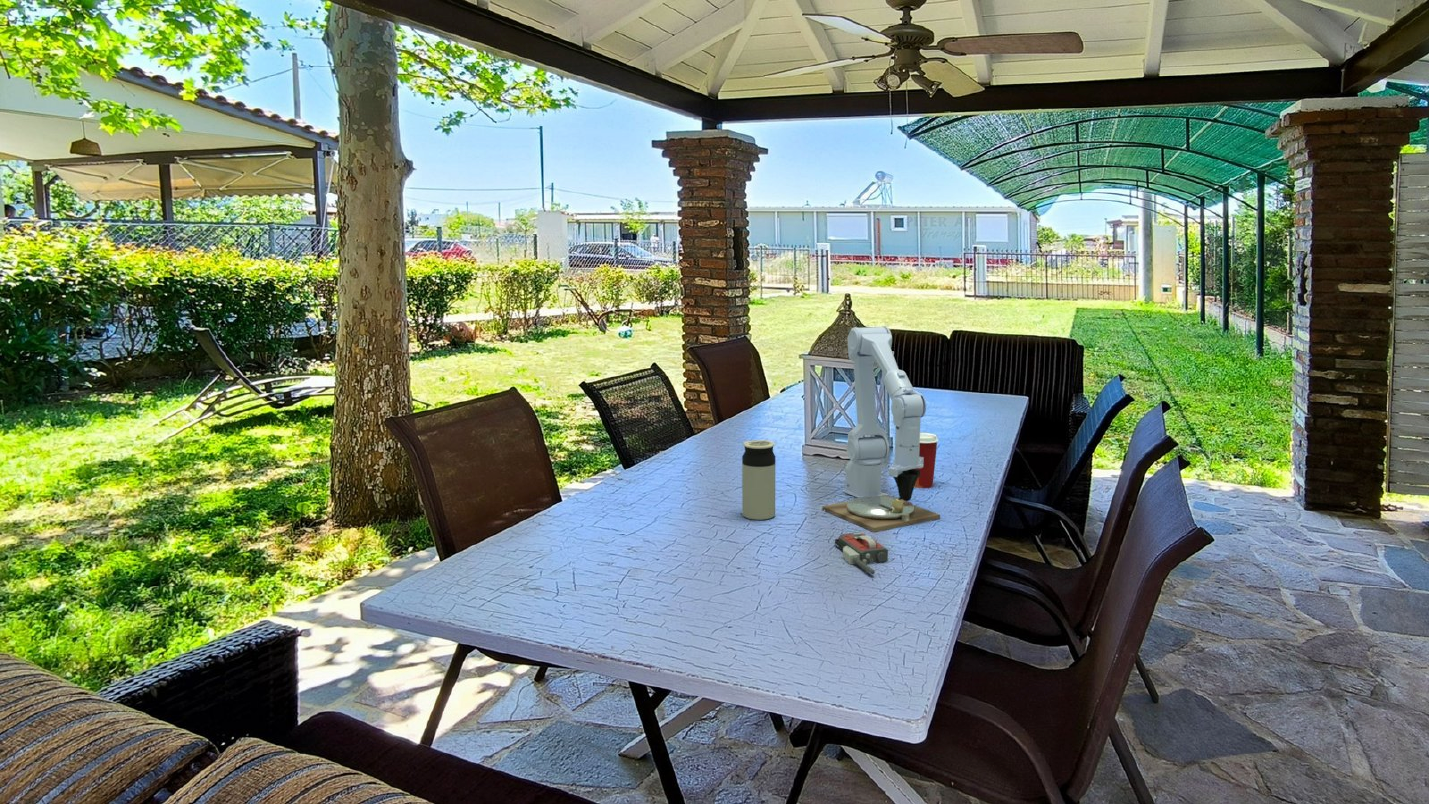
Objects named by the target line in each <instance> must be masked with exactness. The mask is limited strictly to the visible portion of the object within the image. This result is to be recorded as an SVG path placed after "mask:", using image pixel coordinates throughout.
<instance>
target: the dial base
mask: <svg viewBox="0 0 1429 804" xmlns="http://www.w3.org/2000/svg"><path fill="white" fill-rule="evenodd" d="M882 496H885V497H891V495H888V496H887V495H882ZM847 503H848V501H843V502H838V503H833V504H827V505H823V506H822V507H821V510H822V511H823V510H825V511H824V512H826V511H827V512H826V513H828V512H829V514H831V515H833V516H835V517H837V518H840V519H843V520H844V521H847V522H849V523H851V524H854V525H857V526H859V527H862V528H864V529H866V530H868V531H870V532H873V533H876V532H877V533H878V532H881V531H886V530H893V529H896V528H902V527H907V526H911V525H912V526H913V525H915V524H921V523H926V521H927V522H931V521H930V520H932V521H936V520H940V519H941V514H940V513H936V512H933V511H931V510H928V509H925V508H923V507H920V506H917V505H914V504H913V505H914V513H913V514H911V515H910V516H909V515H908V514H906V513H904V514H902V518H897V519H874V518H866V517H862V516H858V515H855V514H853V513H851V512H849V511H848V510H847ZM935 519H936V520H935Z"/></svg>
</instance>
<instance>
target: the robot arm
mask: <svg viewBox="0 0 1429 804" xmlns="http://www.w3.org/2000/svg"><path fill="white" fill-rule="evenodd" d="M892 344H893V336H892V332H891V330H890V328H889V327H888V326H877V327H876V326H874V327H873V326H871V327H869V326H868V327H867V326H866V327H856V326H855V327H852V328H851V329H850V331H849V333H848V335H847V353H848V359H849V360H850V361H852V362H853V375H854V389H855V391H854V392H855V404H856V407H855V408H856V420H857V421H856V422H857V424H856V426H854V427H853V428H852V429H851V430H850V431H849V432H848V433H847V443H846V454H847V457H848V459H849V461H848V462H847V463H846V467H845V475H844V477H845V478H844V479H845V481H844V482H845V483H844V487H845V488H844V489H842V493H845V494H846V495H847V494H848V495H850V496H853V497H854V498H859V497H866V496H882V495H887V496H889V494H888V493H886V492H882V468H883V467H882V464H884V463H885V460H886V459H887V458H888V456H889V454H890V443H889V441H888V437H887V436H888V435H887V431H886V430H885V429H884V428H882V427H881V426H880V425H878V418H877V406H876V405H877V401H876V387H875V373H874V372H875V371H874V364H875V362H876V363H877V365H878V367H879V368H880V369H881V371H882V373H883V375H884V378H883V384H884V387H885V389H886V391H887V393H888V395H889V397H890V399H891V401H892V403H891V406H890V409H891V413H892V416H893V417H892V419H893V420H892V422H893V426H895V428H894V429H895V431H894V435H895V436H894V460H893V462H892V464H891V466H890V467H888V477H891V478H892V477H893V479H894V481H895V484H896V487H897V491H898V496H899V498H903V500H904V501H908V502H910V501H911V499H912V496H913V493H914V488H915V487H914V486H915V483H916V481H917V479H918V477H919V476H920V474H921V471H920V470H915V468H923V463H924V457H919V447H920V433H921V418H923V417H924V416H925V415H926V410H927V403H926V400H925V397H924V395H923V394H922V393H920V392H918V390H915V389H914V387H913V385H912V383H911V381H910V379H909V377H908V375H907V373H906V372H905V371H904V370H902V369H899V366H898V363H897V362H896V359H895V356H894V353H893V351H892ZM864 436H866V437H864Z"/></svg>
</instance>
